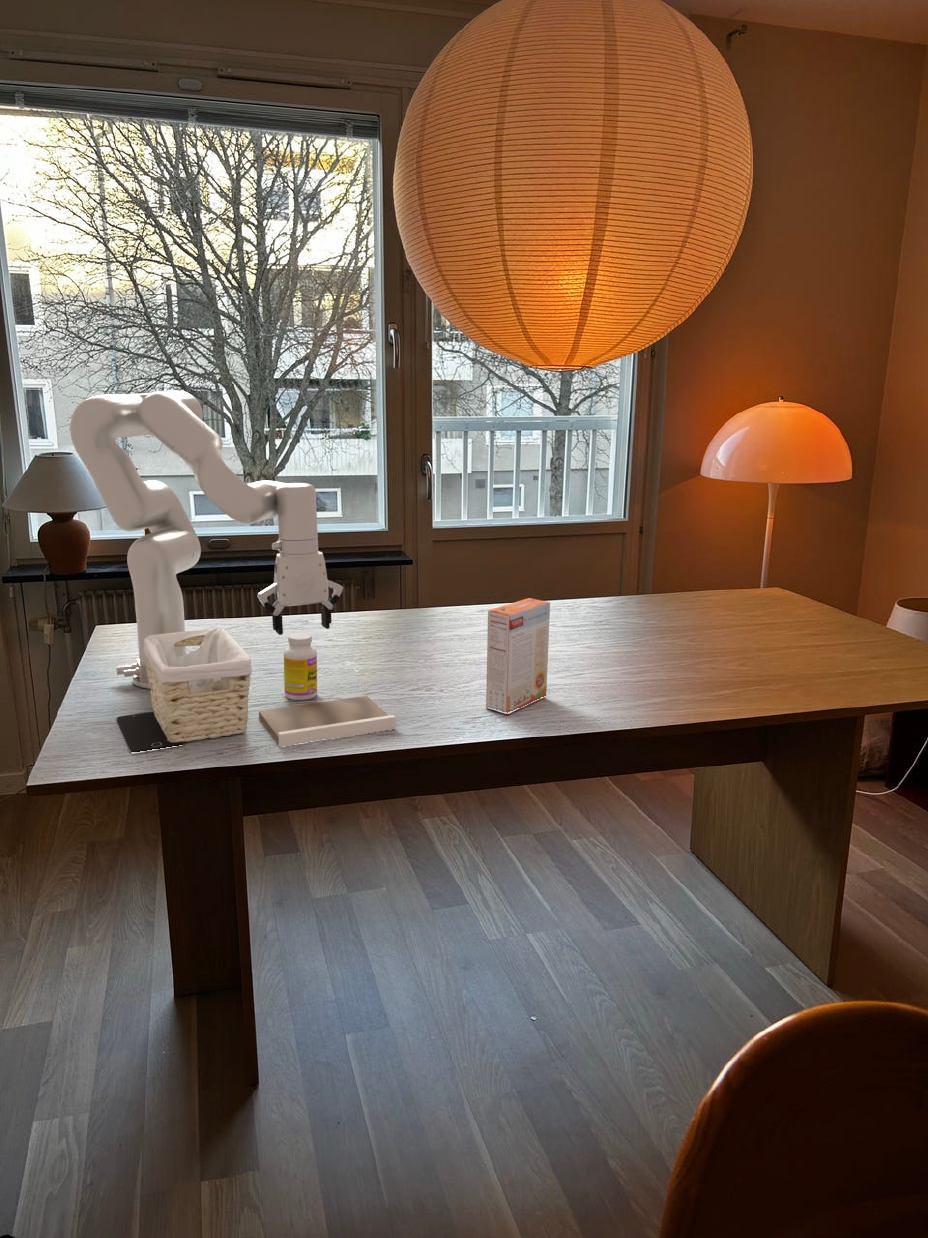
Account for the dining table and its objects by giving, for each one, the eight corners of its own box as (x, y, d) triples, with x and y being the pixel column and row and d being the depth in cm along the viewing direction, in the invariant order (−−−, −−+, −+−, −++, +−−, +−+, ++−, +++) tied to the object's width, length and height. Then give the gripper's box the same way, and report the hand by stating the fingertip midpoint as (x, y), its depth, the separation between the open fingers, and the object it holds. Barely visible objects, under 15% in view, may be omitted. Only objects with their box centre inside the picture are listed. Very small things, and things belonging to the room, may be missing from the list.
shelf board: (278, 745, 160) (278, 737, 159) (259, 718, 172) (258, 711, 171) (392, 727, 169) (393, 719, 169) (366, 702, 181) (366, 695, 181)
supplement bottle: (310, 702, 181) (309, 641, 177) (279, 699, 182) (277, 639, 178) (322, 691, 187) (321, 632, 184) (292, 688, 188) (290, 630, 185)
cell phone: (131, 756, 154) (131, 751, 154) (116, 721, 170) (116, 716, 169) (184, 748, 158) (184, 743, 158) (164, 714, 174) (164, 709, 173)
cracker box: (523, 691, 191) (528, 596, 185) (547, 698, 187) (552, 601, 181) (483, 709, 180) (486, 608, 174) (507, 716, 176) (511, 614, 171)
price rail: (280, 747, 159) (280, 734, 158) (278, 745, 160) (278, 732, 159) (395, 729, 168) (395, 717, 168) (392, 727, 169) (393, 714, 169)
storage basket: (145, 704, 177) (140, 633, 173) (228, 694, 184) (225, 625, 181) (164, 750, 157) (159, 670, 153) (256, 736, 164) (254, 659, 160)
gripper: (260, 553, 169) (265, 640, 174) (346, 546, 177) (349, 629, 181) (250, 547, 176) (255, 630, 180) (334, 540, 183) (337, 621, 187)
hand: (302, 630), depth 180 cm, fingers open, 9 cm apart
